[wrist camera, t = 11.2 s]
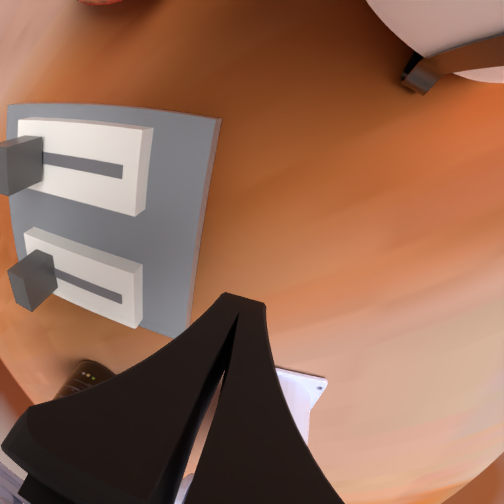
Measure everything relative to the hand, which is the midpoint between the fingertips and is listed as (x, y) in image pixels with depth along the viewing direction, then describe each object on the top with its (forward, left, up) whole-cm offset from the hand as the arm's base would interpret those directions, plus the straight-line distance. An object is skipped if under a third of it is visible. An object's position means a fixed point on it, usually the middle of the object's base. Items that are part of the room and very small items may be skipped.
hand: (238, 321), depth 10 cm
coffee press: (+18, -7, -10) cm, 22 cm away
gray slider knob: (+2, +16, -7) cm, 17 cm away
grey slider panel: (-3, +13, -9) cm, 16 cm away
